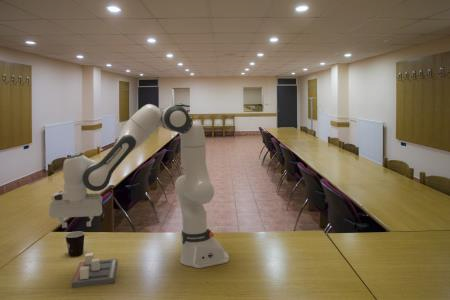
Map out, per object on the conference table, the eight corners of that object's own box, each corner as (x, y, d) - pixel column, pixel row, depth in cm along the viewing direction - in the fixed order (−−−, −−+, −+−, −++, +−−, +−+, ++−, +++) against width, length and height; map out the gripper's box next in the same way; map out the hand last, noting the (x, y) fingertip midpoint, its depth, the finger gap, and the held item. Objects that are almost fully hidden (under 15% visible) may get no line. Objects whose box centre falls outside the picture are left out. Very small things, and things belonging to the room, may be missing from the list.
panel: (117, 262, 166) (117, 258, 166) (114, 283, 147) (113, 278, 147) (80, 266, 163) (79, 262, 162) (71, 287, 143) (71, 282, 143)
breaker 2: (93, 261, 162) (93, 252, 162) (92, 264, 159) (92, 255, 159) (86, 262, 162) (85, 253, 161) (85, 264, 159) (84, 256, 158)
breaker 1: (89, 275, 149) (88, 265, 148) (88, 278, 146) (87, 269, 145) (81, 276, 148) (80, 266, 148) (80, 279, 145) (79, 269, 145)
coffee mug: (67, 252, 179) (65, 232, 178) (85, 249, 182) (84, 230, 181) (65, 261, 169) (64, 240, 167) (85, 258, 172) (84, 238, 170)
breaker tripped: (100, 267, 156) (99, 258, 156) (99, 270, 153) (98, 261, 153) (92, 267, 156) (92, 258, 155) (91, 270, 153) (91, 261, 152)
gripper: (103, 191, 155) (104, 223, 156) (51, 193, 151) (52, 225, 152) (101, 194, 149) (102, 227, 150) (47, 196, 145) (48, 230, 146)
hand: (76, 226), depth 151 cm, fingers open, 8 cm apart
